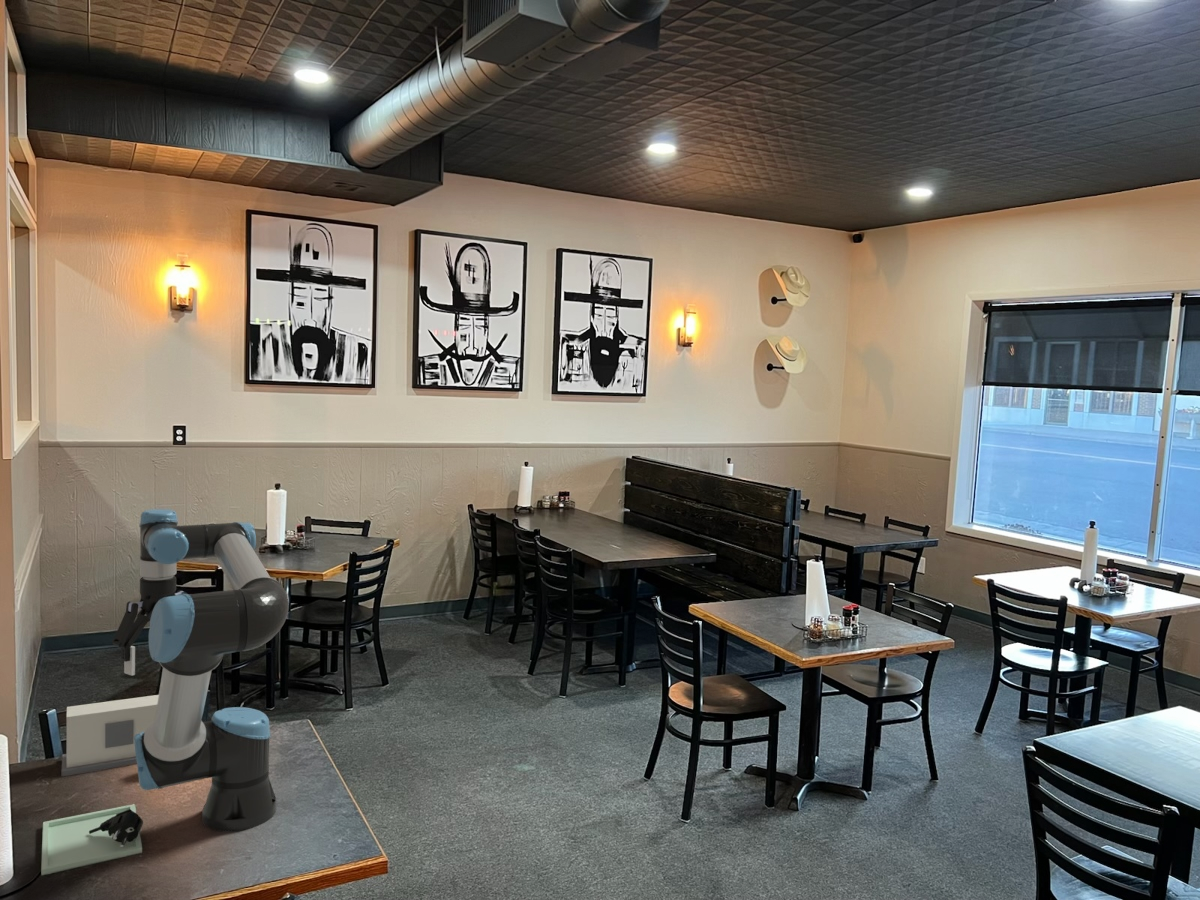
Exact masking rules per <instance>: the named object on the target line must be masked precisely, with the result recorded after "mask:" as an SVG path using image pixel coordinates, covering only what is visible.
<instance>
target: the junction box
mask: <svg viewBox="0 0 1200 900" xmlns="http://www.w3.org/2000/svg"><path fill="white" fill-rule="evenodd" d="M158 697H159V694H155V695H147V696H139V697H132V698H125V699H115V700H109V701H103V702H93V703H87V704H80V705H79V704H78V705H71V706H66V753H63V754H61V755H62V756H61V777H69V776H75V775H79V774H87V773H91V772H99V771H104V770H109V769H115V768H122V767H127V766H133V765H137V760H136V752H135V744H134V737H135V735H136V734H139V733H141V732H145V731H146V729H147V727H148V725H149V724H150V723H151V722H152V721H153V720H154V719H155V716H156V710H157V703H158Z"/></svg>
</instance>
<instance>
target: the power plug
mask: <svg viewBox="0 0 1200 900" xmlns="http://www.w3.org/2000/svg"><path fill="white" fill-rule="evenodd" d="M143 824H144V820H143V819H142V817H141V816H139V814H138V813H137V812H136V813H135V812H133V811H132V810H131V809H129V810H126V811H124V812H121V813H118V814H116V816H114V817H112V818H110V819H109V820H106V821H105V822H103V823H101V825H100V827H98V828H95V829H93V830H90V831H89V833H90V834H91V833H94V832H96V831H99V830H102V831H103V832H104V831H108V834H109V836H111V835H112V836H113V837H112V839H113V840H115V841H117V842H122V843H121V845H120V848H124V846H125V844H126V842H127V841H128V842H131V841H133V840H134V839H135V838H137V836H138V834H139V832H140V831H141V829H142V827H143Z"/></svg>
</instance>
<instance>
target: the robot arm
mask: <svg viewBox="0 0 1200 900" xmlns="http://www.w3.org/2000/svg"><path fill="white" fill-rule="evenodd" d="M177 516H178V514H177V512H176V511H175V510H173V509H168V508H166V509H165V508H155V509H153V508H151V509H147V510H144V511H142V512H141V514H140V523H139V529H140V530H139V533H140V534H139V536H140V538H139V539H140V540H139V541H140V543H139V544H140V545H139V546H140V547H139V548H140V549H139V551H140V553H139V554H140V556H139V565H140V566H139V576H140V578H139V593H140V600H139V601H134V602H133V601H127V603H126V607H125V608H126V609H125V612H124V615H123V617H122V620H121V622H120V624H119V626H118V628H117V631H116V633H115V635H114V637H113V639H112V642H111V643H112V645H113V646H116V647H120V648H121V651H120V652H121V653H120V656H121V657H120V658H121V661H123V662H124V663H123V665H124V668H123V670H124V671H123V673H124V674H126V675H128V676H135V675H136V646H134V645H133V644H134V643H135V641H136V640H137V638H138V637H139V635H140V634H141V633H142V631H143V629H145V627H146V625H147V624H148V623H149V630H148V650H149V654H150V657H151V660H152V661H154V662H156V663H159V664H160V665H159V666H161V667H162V672H161V678H160V685H159V691H158V695H159V697H158V703H157V710H156V716H155V719H154V720H153V721H152V722H151V723H150V724H149V725H148V727H147V729H146V731H145V732H141V733H139V734H136V735H135V737H134V744H135V752H136V760H137V764H136V767H137V774H138V775H137V776H138V783H139V787H140V789H142V790H144V791H150V790H151V791H152V790H156V789H158V790H162V789H164V788H167V787H172V786H173V787H174V786H178V785H182V784H186V783H191V782H195V781H200V780H204V779H210V778H211V786H210V788H209V791H208V795H207V797H206V800H205V802H204V806H203V807H202V813H201V815H202V816H201V817H202V818H201V819H202V823H203V825H204V826H205V827H207V828H208V829H210V830H213V831H218V832H238V831H245V830H249V829H252V828H256V827H258V826H261V825H263V824H265V823H267V822H268V821H270V820H271V819H272V818H273V817H274V815H275V814H276V813H277V798H276V795H275V794H276V793H275V791H274V789H273V786H272V782H271V780H270V777H269V775H270V771H269V769H270V738H271V730H270V720H269V717H268V716H267V714H266V713H264V712H262V711H261V710H258V709H257V708H256V709H255V708H251V707H243V706H241V707H240V706H236V707H235V706H233V707H225V708H221V709H219V710H220V711H219V710H217V711H215V712H214V713H213V714H212V717H211V720H209V721H203V714H204V711H205V705H206V699H207V695H208V690H209V685H210V681H211V675H212V671H213V670H215V669H217V667H218V666H219V665H220V663H221V662H222V660H223V657H224V655H225V654H231V653H237V652H239V653H240V652H247V651H250V650H255V649H257V648H260V647H262V646H264V645H265V644H266V643H268V642H269V641H271V640H272V639H273V638H274V637H275V636H276V635H277V634H278V633H279V632H280V631H281V629H282V627H283V626H284V624H285V622H286V620H287V616H288V614H289V609H290V608H289V606H290V604H289V597H288V594H287V591H286V590H285V588H284V586H283V585H282V584H281V583H280V582H279V581H278V580H276V579H275V578H272V577H271V576H270V574H269V572H268V571H267V570H266V568H265V566H264V564H263V563H262V561H261V560H260V558H259V556H258V555H257V552H255V549H256V545H257V537H256V531H255V527H254V525H253V524H252V523H250V522H238V521H233V522H224V523H209V524H190V525H189V524H187V525H186V524H185V525H178V524H179V523H178V517H177ZM204 558H208V559H209V558H216V560H217V561H218V564H219V566H220V569H221V570H222V572H223V574H224V575H225V578H226V581H227V582H228V583H229V584H228V585H229V586H230V588H231V589H229V590H220V591H218V590H217V591H210V592H200V593H199V592H198V593H188V592H186V591H183V590H177V577H176V576H175V575H177V569H178V566H177V563H178V562H180V561H182V560H192V559H193V560H194V559H204Z"/></svg>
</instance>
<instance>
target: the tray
mask: <svg viewBox="0 0 1200 900" xmlns="http://www.w3.org/2000/svg"><path fill="white" fill-rule="evenodd" d="M129 809H131V810H132V811H133V812H135V813H136V814H137V808H136V803H135V804H134V803H133V804H129V805H128V804H127V805H122V806H119V807H113V808H108V809H101V810H98V811H93V812H87V813H82V814H77V815H76V814H75V815H72V816H67V817H63V818H62V817H61V818H56V819H51V820H47V821H43V823H42V842H41V843H42V844H41V865H40V866H41V870H40V872H41V875H40V876H42V877H43V876H46V875H51V874H53V873H59V872H63V871H67V870H72V869H73V870H74V869H77V868H81V867H85V866H89V865H94V864H99V863H104V862H107V861H108V862H109V861H112V860H116V859H121V858H125V857H130V856H134V855H138V854H142V853H143V844H142V838H141V833H140V832H139V834H138V836H137V838H135V839H134V840H133V841H131V842H128V841H127V842H126V844H125V846H124V848H120V845H121V843H122V842H117V841H115V840H113V839H112V837H113V836H112V835H111V836H109V834H108V831H104V832H103V831H102V830H99V831H96V832H94V833H91V834H90V833H89V831H90V830H93V829H95V828H98V827H100V825H101V823H103V822H105V821H106V820H109V819H110V818H112V817H114V816H116V814H118V813H121V812H124V811H126V810H129Z"/></svg>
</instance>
